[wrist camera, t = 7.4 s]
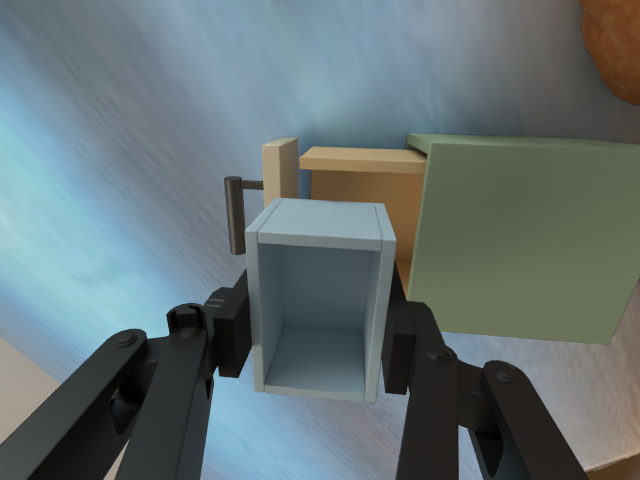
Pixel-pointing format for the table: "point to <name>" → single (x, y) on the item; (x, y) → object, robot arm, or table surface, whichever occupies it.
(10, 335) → the table surface
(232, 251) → the drawer
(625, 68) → the bread
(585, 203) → the cabinet
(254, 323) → the open box
